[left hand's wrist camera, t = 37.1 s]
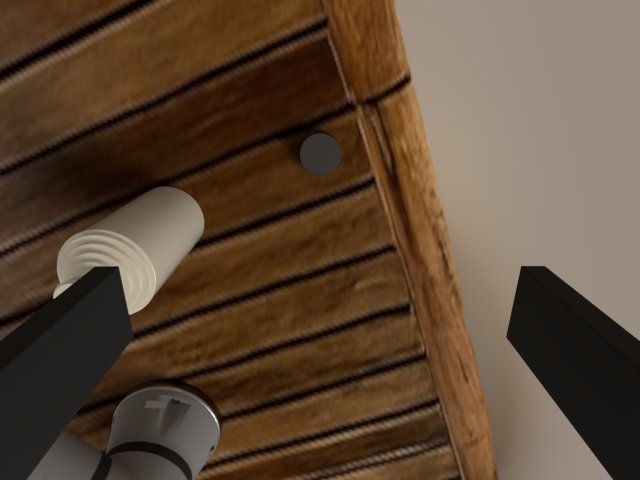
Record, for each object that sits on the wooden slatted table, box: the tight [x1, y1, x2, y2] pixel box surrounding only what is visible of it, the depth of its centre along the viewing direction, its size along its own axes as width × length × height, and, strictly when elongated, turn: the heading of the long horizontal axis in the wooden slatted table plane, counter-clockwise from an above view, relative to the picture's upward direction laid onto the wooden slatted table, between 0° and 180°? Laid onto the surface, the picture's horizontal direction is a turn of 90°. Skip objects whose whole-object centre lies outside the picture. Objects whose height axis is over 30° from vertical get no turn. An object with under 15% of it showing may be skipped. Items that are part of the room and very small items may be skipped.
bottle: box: [53, 186, 204, 315], centre depth 37 cm, size 8×8×19 cm
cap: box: [300, 132, 341, 175], centre depth 42 cm, size 4×4×2 cm
